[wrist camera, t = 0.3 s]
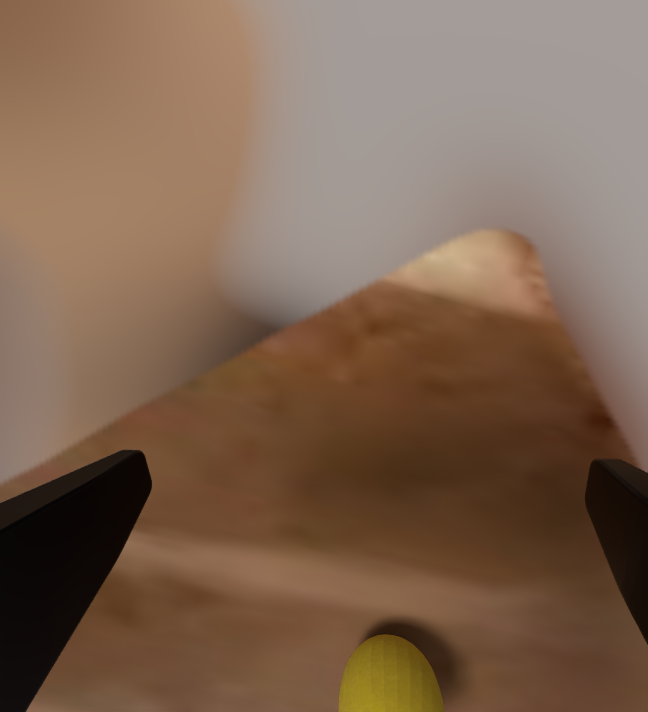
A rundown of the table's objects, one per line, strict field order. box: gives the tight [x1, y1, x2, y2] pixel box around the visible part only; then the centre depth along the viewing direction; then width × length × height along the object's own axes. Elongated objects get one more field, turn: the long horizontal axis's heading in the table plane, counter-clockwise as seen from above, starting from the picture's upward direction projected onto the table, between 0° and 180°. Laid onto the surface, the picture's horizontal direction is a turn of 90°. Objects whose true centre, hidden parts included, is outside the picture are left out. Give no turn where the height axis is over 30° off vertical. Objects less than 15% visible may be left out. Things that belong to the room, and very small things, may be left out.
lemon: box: [339, 634, 444, 712], centre depth 22 cm, size 6×6×8 cm
